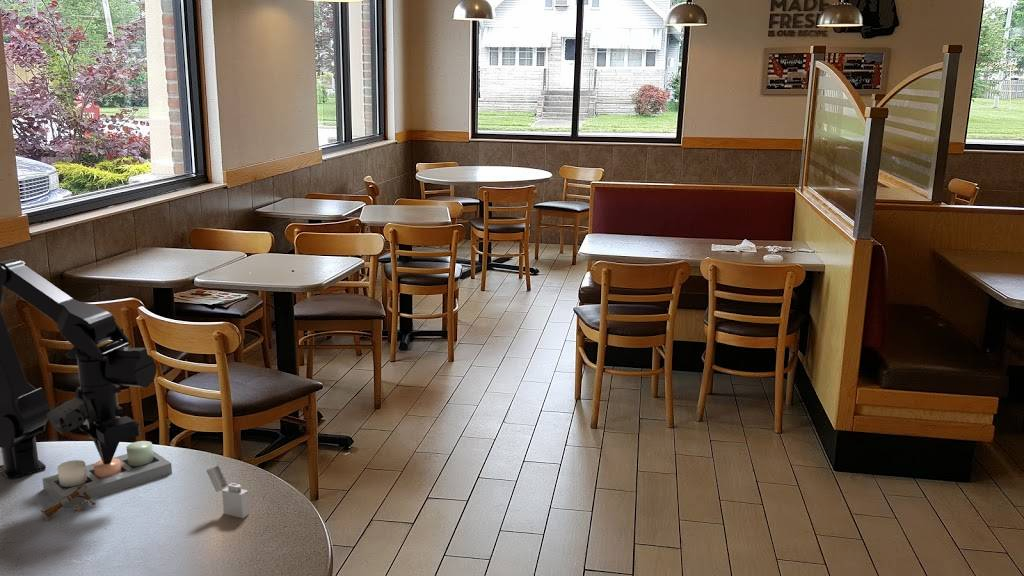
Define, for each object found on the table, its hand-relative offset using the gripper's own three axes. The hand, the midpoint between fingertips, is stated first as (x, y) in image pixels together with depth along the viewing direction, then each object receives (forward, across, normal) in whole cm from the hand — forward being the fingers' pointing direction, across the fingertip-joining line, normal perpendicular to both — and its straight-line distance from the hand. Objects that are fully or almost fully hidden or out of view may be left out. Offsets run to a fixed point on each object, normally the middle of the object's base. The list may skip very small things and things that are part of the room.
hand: (107, 463), depth 158 cm
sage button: (+1, 0, +6) cm, 6 cm away
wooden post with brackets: (+4, +7, -10) cm, 13 cm away
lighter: (+4, +26, +10) cm, 28 cm away
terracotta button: (+3, 0, 0) cm, 3 cm away
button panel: (+3, 0, 0) cm, 3 cm away
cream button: (+1, 0, -6) cm, 6 cm away
